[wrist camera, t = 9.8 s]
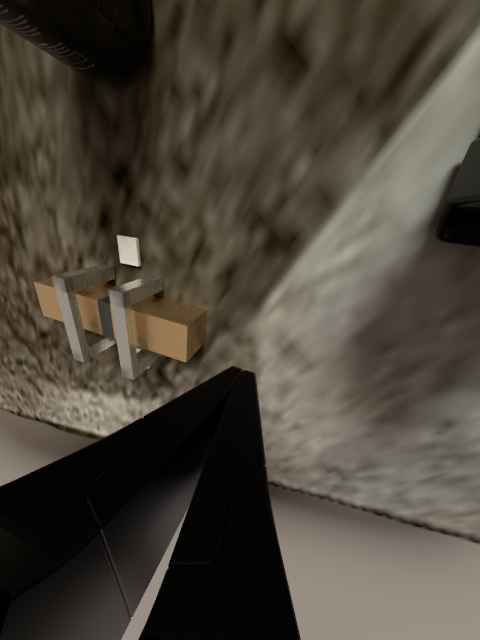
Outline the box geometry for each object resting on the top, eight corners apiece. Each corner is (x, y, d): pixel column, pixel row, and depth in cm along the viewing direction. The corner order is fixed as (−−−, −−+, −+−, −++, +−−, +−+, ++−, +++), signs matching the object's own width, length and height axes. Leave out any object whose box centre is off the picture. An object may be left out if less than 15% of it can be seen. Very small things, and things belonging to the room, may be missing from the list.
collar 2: (163, 277, 20) (121, 292, 16) (166, 350, 24) (133, 379, 19) (152, 274, 20) (108, 289, 16) (157, 347, 24) (122, 375, 20)
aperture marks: (138, 238, 19) (135, 238, 19) (150, 367, 26) (148, 368, 25) (119, 235, 20) (116, 235, 20) (135, 362, 26) (133, 363, 26)
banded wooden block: (207, 309, 20) (186, 326, 17) (204, 342, 22) (185, 363, 19) (70, 273, 24) (32, 281, 21) (76, 304, 25) (42, 316, 22)
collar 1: (113, 266, 21) (63, 278, 17) (124, 337, 25) (84, 362, 21) (103, 264, 22) (51, 275, 18) (115, 335, 25) (74, 358, 21)
